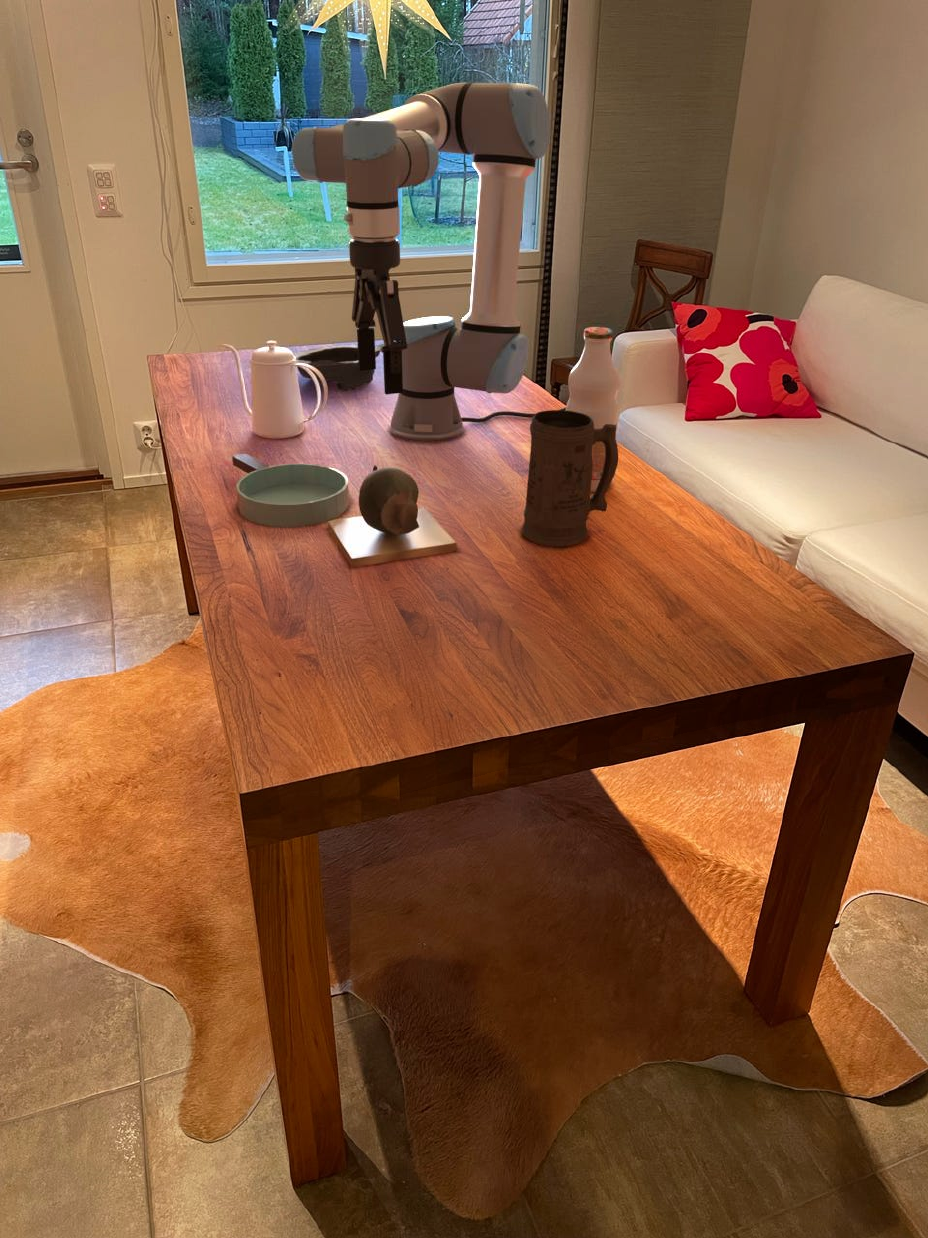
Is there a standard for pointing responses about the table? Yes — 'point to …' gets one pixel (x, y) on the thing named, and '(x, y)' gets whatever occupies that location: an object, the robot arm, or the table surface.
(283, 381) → the coffeepot
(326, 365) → the stone bowl
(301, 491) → the pan
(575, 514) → the beer stein
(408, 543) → the cutting board
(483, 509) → the table surface
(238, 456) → the pan handle
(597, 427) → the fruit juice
